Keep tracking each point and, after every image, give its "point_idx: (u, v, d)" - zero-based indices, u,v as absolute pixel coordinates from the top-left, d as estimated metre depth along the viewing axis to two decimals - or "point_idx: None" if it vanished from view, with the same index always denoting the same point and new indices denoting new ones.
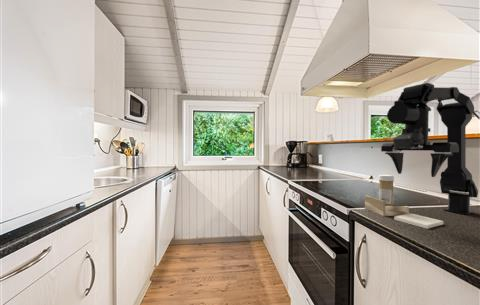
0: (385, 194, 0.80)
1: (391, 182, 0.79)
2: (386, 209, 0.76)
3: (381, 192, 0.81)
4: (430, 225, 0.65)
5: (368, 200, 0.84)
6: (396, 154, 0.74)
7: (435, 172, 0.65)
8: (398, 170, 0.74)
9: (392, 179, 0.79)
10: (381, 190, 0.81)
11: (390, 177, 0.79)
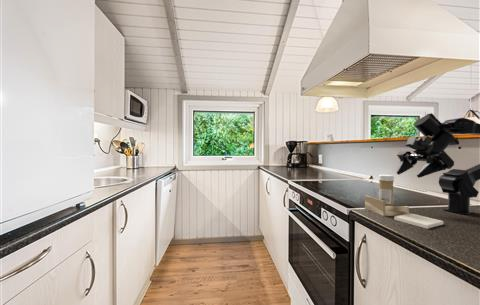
0: (385, 194, 0.80)
1: (391, 182, 0.79)
2: (386, 209, 0.76)
3: (381, 192, 0.81)
4: (430, 225, 0.65)
5: (368, 200, 0.84)
6: (405, 160, 0.87)
7: (421, 173, 0.77)
8: (398, 170, 0.86)
9: (392, 179, 0.79)
10: (381, 190, 0.81)
11: (390, 177, 0.79)
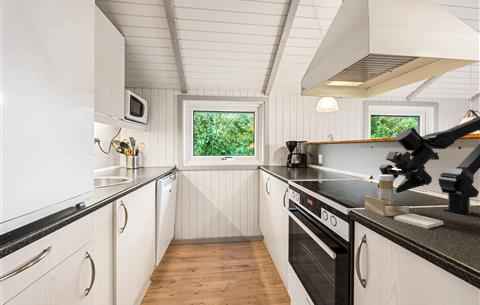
0: (385, 194, 0.80)
1: (391, 182, 0.79)
2: (386, 209, 0.76)
3: (381, 192, 0.81)
4: (430, 225, 0.65)
5: (368, 200, 0.84)
6: (387, 173, 0.87)
7: (400, 189, 0.76)
8: None
9: (392, 179, 0.79)
10: (381, 190, 0.81)
11: (390, 177, 0.79)
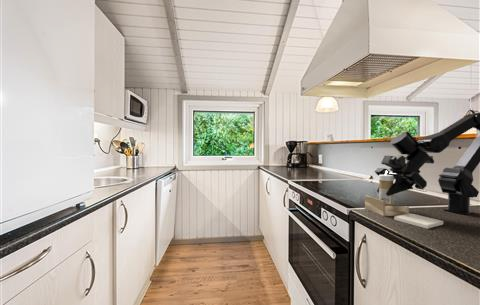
0: (385, 194, 0.80)
1: (391, 182, 0.79)
2: (386, 209, 0.76)
3: (381, 192, 0.81)
4: (430, 225, 0.65)
5: (368, 200, 0.84)
6: None
7: (390, 192, 0.78)
8: (378, 189, 0.84)
9: (392, 179, 0.79)
10: (381, 190, 0.81)
11: (390, 177, 0.79)
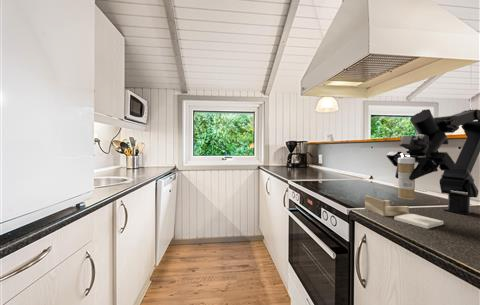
0: (407, 179, 0.72)
1: (413, 165, 0.71)
2: (386, 209, 0.76)
3: (402, 177, 0.72)
4: (430, 225, 0.65)
5: (368, 200, 0.84)
6: None
7: (414, 176, 0.70)
8: (397, 173, 0.75)
9: (414, 161, 0.71)
10: (402, 174, 0.72)
11: (412, 159, 0.71)
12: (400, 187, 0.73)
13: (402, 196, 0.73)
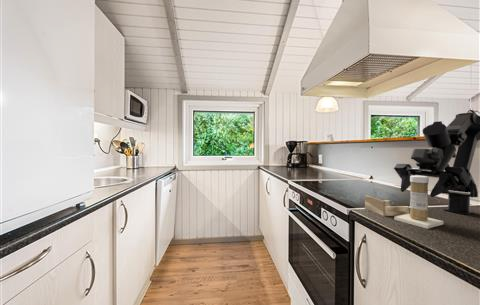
0: (421, 199, 0.68)
1: (427, 184, 0.68)
2: (386, 209, 0.76)
3: (416, 196, 0.69)
4: (430, 225, 0.65)
5: (368, 200, 0.84)
6: (408, 174, 0.75)
7: (435, 192, 0.65)
8: (402, 187, 0.74)
9: (428, 181, 0.68)
10: (416, 194, 0.69)
11: (427, 178, 0.68)
12: (413, 207, 0.70)
13: (415, 217, 0.69)
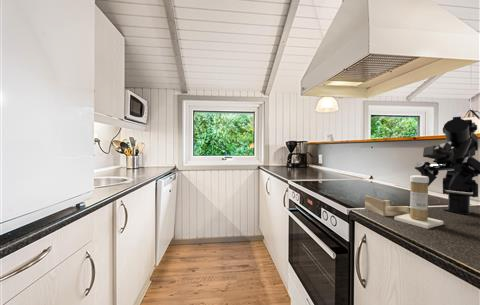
0: (421, 199, 0.68)
1: (427, 184, 0.68)
2: (386, 209, 0.76)
3: (416, 196, 0.69)
4: (430, 225, 0.65)
5: (368, 200, 0.84)
6: (427, 171, 0.80)
7: (453, 184, 0.69)
8: None
9: (428, 181, 0.68)
10: (416, 194, 0.69)
11: (427, 178, 0.68)
12: (413, 207, 0.70)
13: (415, 217, 0.69)
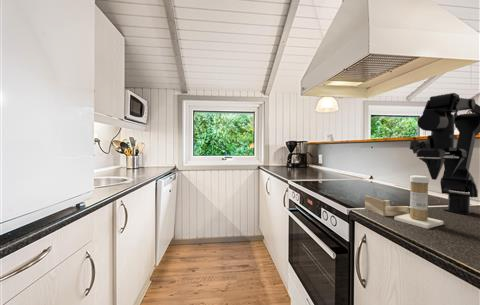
0: (421, 199, 0.68)
1: (427, 184, 0.68)
2: (386, 209, 0.76)
3: (416, 196, 0.69)
4: (430, 225, 0.65)
5: (368, 200, 0.84)
6: (445, 159, 0.78)
7: (432, 175, 0.73)
8: (445, 174, 0.77)
9: (428, 181, 0.68)
10: (416, 194, 0.69)
11: (427, 178, 0.68)
12: (413, 207, 0.70)
13: (415, 217, 0.69)
